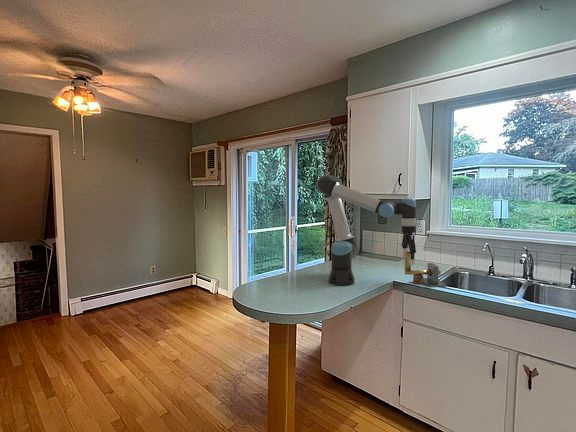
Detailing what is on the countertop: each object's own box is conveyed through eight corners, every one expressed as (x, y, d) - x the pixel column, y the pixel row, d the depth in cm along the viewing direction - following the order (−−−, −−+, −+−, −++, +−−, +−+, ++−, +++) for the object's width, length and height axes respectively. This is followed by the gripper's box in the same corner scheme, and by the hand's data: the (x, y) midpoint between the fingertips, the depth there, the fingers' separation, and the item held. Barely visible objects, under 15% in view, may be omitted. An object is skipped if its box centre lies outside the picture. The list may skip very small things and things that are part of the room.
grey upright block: (427, 286, 176) (428, 267, 175) (419, 279, 190) (420, 261, 189) (446, 286, 175) (446, 268, 174) (436, 279, 189) (437, 262, 188)
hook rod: (405, 275, 182) (405, 252, 180) (403, 273, 185) (404, 251, 184) (441, 275, 180) (441, 252, 179) (438, 273, 183) (439, 251, 182)
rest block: (415, 283, 181) (416, 275, 180) (413, 281, 186) (413, 273, 185) (423, 283, 180) (423, 276, 180) (420, 281, 185) (420, 273, 185)
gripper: (422, 228, 168) (422, 267, 170) (409, 222, 193) (408, 257, 194) (408, 228, 169) (407, 267, 170) (396, 223, 193) (396, 257, 195)
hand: (408, 261), depth 182 cm, fingers open, 13 cm apart
